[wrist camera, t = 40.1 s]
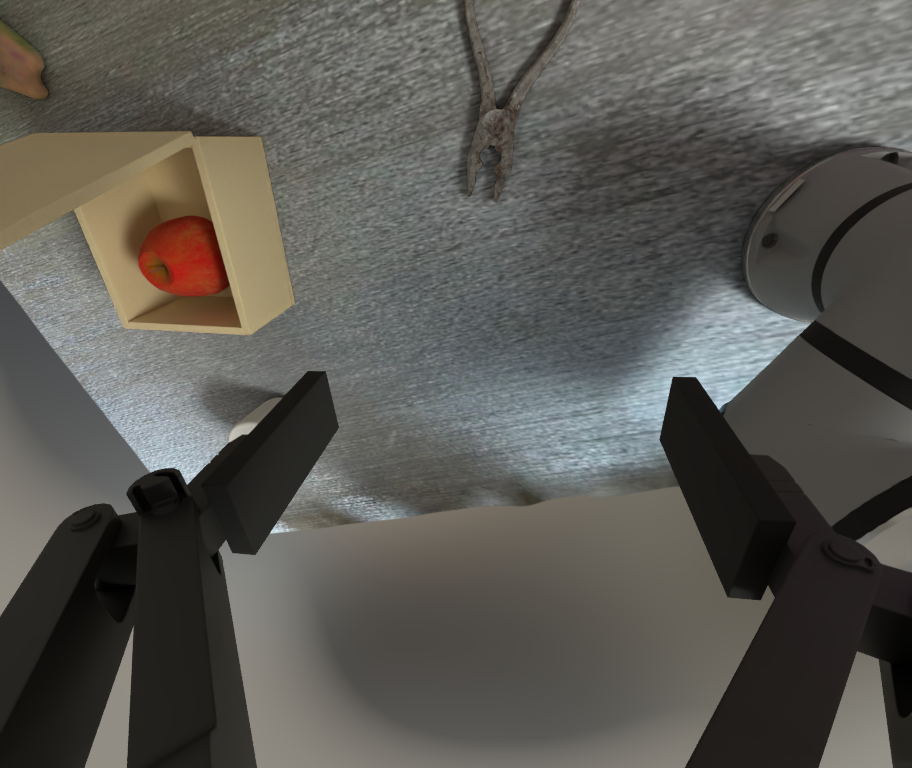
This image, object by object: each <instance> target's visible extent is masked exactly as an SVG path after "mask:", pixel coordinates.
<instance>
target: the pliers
mask: <svg viewBox="0 0 912 768" xmlns="http://www.w3.org/2000/svg"><path fill="white" fill-rule="evenodd" d="M579 3H580V0H572V1H571V4H570V6H569V9H568V12H567V14H566V17H565V19H564V21H563V23H562V24H561V26H560V28H559V30H558V32H557V33H556V35H555V36H554V37H553V39H552V40H551V42H550V43H549V44H548V46H547V47H546V48H545V50H544V51H543V52H542V53H541V55H540V56H539V57H538V58H537V60H536V61H535V62H534V63H533V65H532V66H531V67H530V68H529V69H528V71H527V72H526V73H525V74H524V76H523V77H522V78H521V80H520V81H519V83H518V84H517V86H516V87H515V89H514V91H513V92H512V94H511V96H510V98H509V99H508V101H507V103H506V105H505V107H504V109H503V110H500V109H496V101H495V93H494V86H493V80H492V75H491V72H490V68H489V64H488V61H487V58H486V55H485V52H484V48H483V45H482V42H481V38H480V35H479V31H478V27H477V23H476V18H475V12H474V3H473V0H464V5H465V18H466V23H467V29H468V34H469V38H470V42H471V46H472V50H473V54H474V58H475V62H476V66H477V70H478V75H479V80H480V87H481V104H480V114H479V124H478V125H477V128H476V131H475V134H474V138H473V141H472V144H471V147H470V150H469V154H468V157H467V196H468V197H470V196H471V194H472V191H473V188H474V186H475V183H476V174H477V171H478V170H479V169H480V168H481V167H482V165H483V162H482V161H481V159H480V152H481V151H482V150H483V149H488V148H489V146H490V145H494V146H495V150H496V151H498V152H500V154H501V157H502V159H501V161H500V163H499V164H497V165H495V171H496V173H497V176H498V177H497V182H496V183H495V190H494V202H497V200H498V198H499V196H500V193H501V191H502V189H503V186H504V184H505V182H506V180H507V177H508V175H509V173H510V170H511V168H512V153H513V137H514V131H513V130H514V127H515V124H516V120H517V117H518V114H519V110H520V107H521V105H522V102H523V100H524V98H525V96H526V95H527V93H528V91H529V89H530V88H531V86H532V85H533V83H534V82H535V80H536V79H537V78H538V76H539V75H540V74H541V72H542V71H543V69H544V68H545V67H546V65H547V64H548V63H549V61H550V60H551V58H552V57H553V56H554V54H555V53H556V51H557V50H558V48H559V47H560V45H561V44H562V42H563V40H564V39H565V37H566V35H567V33H568V31H569V29H570V27H571V25H572V23H573V20H574V17H575V15H576V12H577V9H578V6H579Z"/></svg>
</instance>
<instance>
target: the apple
mask: <svg viewBox="0 0 912 768" xmlns="http://www.w3.org/2000/svg"><path fill="white" fill-rule="evenodd" d="M138 262H139V268H140V270H141V272H142V274H143V276H144V277H145V278H146V279H147V280H148V281H149V282H150V283H151V284H152V285H154V286H155V287H157V288H158V289H159V290H162V291H164V292H167V293H170V294H174V295H179V296H207V295H211V294H216V293H220V292H221V291H223V290H224V289H226V288H227V287H228V286H230V283H229V280H228V276H227V272H226V269H225V265H224V262H223V258H222V254H221V251H220V247H219V243H218V240H217V236H216V232H215V229H214V225H213V222H212V221H210V220H208V219H206V218H204V217H199V216H183V217H179V218H175V219H171V220H168V221H165V222H162V223H161V224H159V225H157V226H155V227H154V228H153V229H152V230H151V231H150V232H149V233H148V235H147V237H146V238H145V240H144V242H143V244H142V245H141V249H140V253H139V256H138Z"/></svg>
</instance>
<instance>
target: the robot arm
mask: <svg viewBox="0 0 912 768" xmlns="http://www.w3.org/2000/svg"><path fill="white" fill-rule="evenodd" d="M742 271H743V276H744V279H745V282H746V284H747V286H748V288H749V290H750V291H751V293H752V294H753V295H754V297H755V298H756V299H757V300H758V301H760V302H761V303H762V304H764V305H765V306H766V307H768V308H769V309H771V310H772V311H774V312H776V313H778V314H780V315H782V316H785V317H788V318H791V319H794V320H798V321H803V322H812V323H811V324H810V325H809V326H808V327H807V328H806V329H805V330H804V331H803V332H802V333H801V334H800V335H799V336H797V337H796V338H795V339H794V340H793V341H792V342H791V343H790V344H789V345H788V346H787V347H786V348H785V349H784V350H783V351H782V352H781V353H780V354H779V355H778V356H777V357H776V358H775V359H774V360H773V361H772V362H771V363H770V364H769V365H768V366H767V367H766V368H765V369H764V370H762V371H761V372H760V373H759V374H758V375H757V376H756V377H755V378H754V379H753V380H752V381H751V382H750V383H749V384H748V385H747V386H746V387H745V388H744V389H743V390H742V391H741V392H739V393H738V394H737V395H736V396H735V397H734V398H733V399H732V400H731V401H730V402H728V403H726V404H724V405H723V406H722V407H721V408H720V410H718V408H717V407H716V405H715V404H714V402H713V401H712V400H711V398H710V397H709V395H708V394H707V392H706V391H705V390H704V388H703V387H702V385H701V384H700V382H699V381H698V379H697V378H696V377H673V379H672V384H671V388H670V393H669V398H668V402H667V407H666V412H665V416H664V421H663V426H662V431H661V435H660V442H661V444H662V446H663V449H664V451H665V453H666V456H667V458H668V460H669V463H670V465H671V467H672V470H673V472H674V474H675V477H676V479H677V481H678V483H679V486H680V488H681V490H682V493H683V495H684V497H685V500H686V502H687V504H688V507H689V509H690V511H691V513H692V516H693V518H694V521H695V523H696V525H697V527H698V530H699V532H700V534H701V537H702V539H703V541H704V544H705V546H706V548H707V550H708V553H709V555H710V557H711V560H712V562H713V564H714V567H715V569H716V571H717V574H718V576H719V578H720V581H721V583H722V585H723V588H724V590H725V592H726V595H727V597H730V598H742V599H752V600H761V598H762V596H763V594H764V592H765V590H766V588H767V586H769V587H770V589H771V591H772V593H773V595H774V597H775V599H774V601H773V603H772V605H771V606H770V608H769V610H768V612H767V614H766V616H765V618H764V620H763V621H762V624H761V625H760V627H759V629H758V631H757V633H756V635H755V637H754V639H753V640H752V642H751V644H750V646H749V648H748V650H747V652H746V654H745V655H744V657H743V660H742V661H741V663H740V665H739V667H738V669H737V670H736V672H735V674H734V676H733V678H732V680H731V682H730V684H729V686H728V688H727V690H726V692H725V693H724V695H723V697H722V699H721V701H720V703H719V705H718V706H717V708H716V710H715V712H714V714H713V716H712V718H711V720H710V721H709V723H708V725H707V727H706V729H705V731H704V733H703V735H702V736H701V739H700V740H699V742H698V744H697V746H696V748H695V750H694V752H693V753H692V755H691V757H690V759H689V761H688V763H687V765H686V767H685V768H818V767H819V764H820V761H821V758H822V755H823V752H824V749H825V746H826V743H827V740H828V737H829V734H830V731H831V728H832V725H833V722H834V719H835V716H836V713H837V710H838V707H839V704H840V701H841V698H842V695H843V692H844V689H845V686H846V682H847V680H848V676H849V673H850V670H851V667H852V664H853V661H854V658H855V655H856V652H857V651H858V652H861V653H864V654H866V655H869V656H872V657H875V658H878V659H879V665H880V672H881V680H882V687H883V695H884V703H885V710H886V718H887V725H888V733H889V741H890V748H891V756H892V764H893V768H912V152H909V151H905V150H902V149H896V148H887V147H862V148H854V149H849V150H844V151H841V152H837V153H834V154H831V155H829V156H826V157H823V158H821V159H819V160H817V161H815V162H813V163H811V164H809V165H808V166H806V167H804V168H803V169H801V170H800V171H798V172H797V173H795V174H794V175H792V176H791V177H790V178H789V179H787V180H786V181H785V182H784V183H783V184H781V185H780V186H779V187H778V188H777V189H776V190H775V191H774V192H773V193H772V194H771V195H770V197H769V198H768V199H767V200H766V201H765V202H764V204H763V205H762V207H761V208H760V209H759V211H758V212H757V214H756V216H755V217H754V219H753V221H752V223H751V225H750V227H749V229H748V232H747V234H746V237H745V241H744V245H743V250H742ZM338 428H339V426H338V422H337V417H336V413H335V409H334V405H333V401H332V396H331V392H330V388H329V384H328V379H327V375H326V371H308V372H307V373H306V374H305V375H304V376H303V377H302V378H301V379H300V380H299V381H298V382H297V383H296V384H295V385H294V386H293V387H292V389H291V390H290V391H289V392H288V393H287V394H286V395H285V396H284V397H283V398H282V399H281V400H280V401H279V402H278V403H277V404H276V405H275V406H274V408H273V409H272V410H271V411H270V412H269V413H268V414H267V415H266V416H265V417H264V418H263V419H262V420H261V421H260V422H259V423H258V424H257V426H256V427H255V428H254V429H253V430H252V431H251V432H250V433H249V434H242V435H241V436H239V437H237V438H236V439H234V440H232V441H231V442H229V443H228V444H227V445H226V446H225V447H224V448H223V449H222V450H221V451H220V452H219V455H216V456H215V457H214V458H213V459H212V460H211V463H208V464H207V465H206V466H205V467H204V468H203V469H202V470H201V471H200V472H199V473H198V474H197V476H196V477H195V478H194V479H193V480H192V481H191V482H190V483H189V484H188V485H187V484H186V482H185V480H184V478H183V476H182V474H181V472H180V471H179V470H177V469H174V468H165V469H161V470H157V471H154V472H151V473H149V474H147V475H144V476H143V477H141V478H140V479H138V480H137V481H135V482H134V483H133V484H132V486H130V487H129V489H128V491H127V496H128V498H129V500H130V501H131V503H132V505H133V506H134V508H135V510H136V512H135V513H129V514H124V515H117V513H116V512H115V510H114V509H113V507H112V506H111V505H109V504H104V503H103V504H95V505H92V506H89V507H85V508H83V509H80V510H79V511H77V512H75V513H73V514H72V515H70V516H69V517H68V518H66V519H65V520H64V521H63V522H62V523H61V524H60V525H59V526H58V527H57V529H56V530H55V532H54V534H53V535H52V537H51V538H50V540H49V541H48V543H47V544H46V546H45V547H44V549H43V551H42V552H41V554H40V555H39V557H38V558H37V560H36V562H35V563H34V565H33V566H32V568H31V570H30V571H29V572H28V574H27V576H26V577H25V579H24V580H23V582H22V583H21V585H20V587H19V588H18V590H17V591H16V593H15V595H14V596H13V598H12V599H11V601H10V602H9V604H8V605H7V607H6V608H5V610H4V612H3V613H2V615H1V617H0V768H84V767H85V764H86V761H87V758H88V756H89V753H90V750H91V747H92V744H93V741H94V738H95V735H96V733H97V729H98V727H99V724H100V721H101V718H102V715H103V712H104V709H105V707H106V704H107V700H108V698H109V695H110V692H111V689H112V686H113V683H114V681H115V678H116V675H117V672H118V669H119V666H120V663H121V660H122V657H123V654H124V651H125V648H126V646H127V643H128V640H129V637H130V634H131V631H132V628H133V626H134V636H133V654H132V675H131V695H130V716H129V737H128V757H127V768H257V765H256V759H255V753H254V747H253V741H252V735H251V729H250V723H249V717H248V711H247V705H246V699H245V693H244V687H243V681H242V676H241V669H240V664H239V657H238V652H237V645H236V639H235V633H234V627H233V621H232V615H231V609H230V603H229V597H228V591H227V585H226V579H225V573H224V567H223V560H222V556H221V555H220V552H219V548H220V547H221V546H222V544H223V543H224V542H225V540H227V542H228V544H229V547H230V549H231V551H232V553H239V554H250V555H256V553H257V552H258V550H259V549H260V547H261V546H262V544H263V542H264V541H265V540H266V538H267V537H268V535H269V533H270V532H271V530H272V529H273V527H274V526H275V524H276V523H277V521H278V520H279V518H280V517H281V515H282V514H283V512H284V511H285V509H286V508H287V506H288V504H289V503H290V501H291V500H292V498H293V497H294V495H295V494H296V492H297V491H298V489H299V488H300V486H301V485H302V483H303V482H304V480H305V479H306V477H307V475H308V474H309V472H310V471H311V469H312V468H313V466H314V465H315V463H316V462H317V460H318V459H319V457H320V456H321V454H322V453H323V451H324V450H325V448H326V446H327V445H328V443H329V442H330V440H331V439H332V437H333V436H334V434H335V433H336V431H337V430H338Z"/></svg>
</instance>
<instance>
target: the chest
mask: <svg viewBox="0 0 912 768" xmlns="http://www.w3.org/2000/svg"><path fill="white" fill-rule="evenodd" d="M193 137H194V139H195V142H194V143H192V144H191V145H189V146H187V147H185V148H183V149H182V150H180V151H178V152H176V153H174V154H173V155H171V156H169V157H167V158H165V159H164V160H162V161H160V162H158V163H156V164H155V165H153V166H151V167H149V168H147V169H146V170H144V171H142V172H140V173H138V174H137V175H135V176H133V177H131V178H130V179H128V180H126V181H124V182H122V183H121V184H119V185H117V186H115V187H113V188H112V189H110V190H108V191H106V192H104V193H103V194H101V195H99V196H97V197H95V198H94V199H92V200H90V201H88V202H86V203H85V204H83V205H81V206H79V207H77V208H76V209H74V211H75V214H76V216H77V219H78V221H79V223H80V226H81V228H82V230H83V233H84V235H85V238H86V240H87V242H88V245H89V247H90V249H91V252H92V254H93V257H94V259H95V261H96V264H97V266H98V268H99V271H100V273H101V276H102V278H103V280H104V283H105V285H106V287H107V290H108V292H109V295H110V297H111V299H112V302H113V304H114V306H115V309H116V311H117V314H118V316H119V318H120V321H121V323H122V325H123V328H127V329H130V328H131V329H147V330H165V331H183V332H202V333H220V334H239V335H251V334H253V333H254V332H256V331H257V330H258V329H260V328H261V327H263V326H264V325H265V324H267V323H268V322H270V321H271V320H272V319H274V318H275V317H277V316H278V315H279V314H281V313H282V312H284V311H285V310H287V309H288V308H289V307H291V306H292V305H294V304H295V301H294V296H293V291H292V286H291V281H290V276H289V271H288V266H287V261H286V256H285V251H284V246H283V241H282V236H281V232H280V227H279V222H278V217H277V212H276V207H275V202H274V197H273V192H272V187H271V182H270V177H269V172H268V167H267V162H266V157H265V152H264V148H263V143H262V138H261V137H229V136H193ZM183 216H199V217H204V218H206V219H208V220H210V221H212V222H213V225H214V229H215V232H216V236H217V240H218V243H219V247H220V251H221V254H222V258H223V262H224V265H225V269H226V272H227V276H228V280H229V283H230V286H228V287H227V288H226V289H224V290H223V291H221V292H220V293H216V294H211V295H207V296H179V295H174V294H170V293H167V292H164V291H162V290H159V289H158V288H157V287H155V286H154V285H152V284H151V283H150V282H149V281H148V280H147V279H146V278H145V277H144V276H143V274H142V272H141V270H140V268H139V262H138V256H139V253H140V249H141V245H142V244H143V242H144V240H145V238H146V237H147V235H148V233H149V232H150V231H151V230H152V229H153V228H154V227H155V226H157V225H159V224H161V223H162V222H165V221H168V220H171V219H175V218H179V217H183Z"/></svg>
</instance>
